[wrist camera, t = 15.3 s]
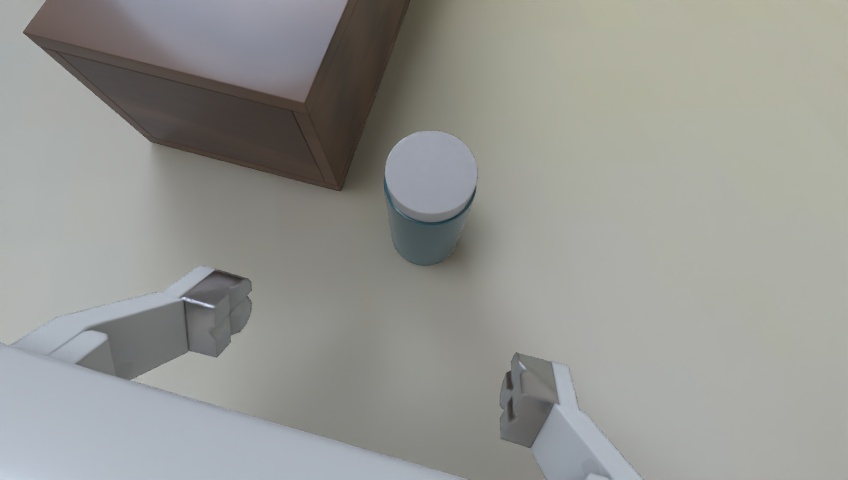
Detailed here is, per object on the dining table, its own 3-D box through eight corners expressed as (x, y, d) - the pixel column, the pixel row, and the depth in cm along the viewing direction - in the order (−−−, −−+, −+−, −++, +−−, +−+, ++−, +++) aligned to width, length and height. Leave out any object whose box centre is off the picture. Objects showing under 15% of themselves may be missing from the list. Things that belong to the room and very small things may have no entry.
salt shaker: (464, 211, 24) (489, 141, 17) (449, 273, 23) (468, 227, 15) (401, 195, 24) (398, 117, 17) (383, 255, 23) (369, 202, 16)
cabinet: (257, -53, 30) (200, -208, 22) (416, -16, 30) (418, -162, 21) (149, 141, 25) (21, 32, 17) (340, 191, 24) (304, 103, 16)
